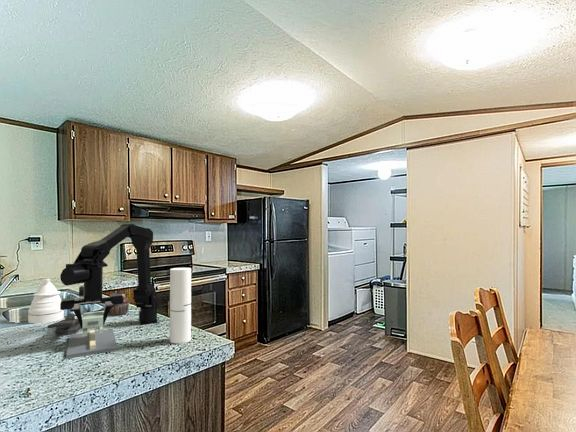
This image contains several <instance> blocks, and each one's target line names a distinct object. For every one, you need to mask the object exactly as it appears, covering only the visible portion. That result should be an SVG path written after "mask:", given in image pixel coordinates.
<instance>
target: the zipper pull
mask: <svg viewBox="0 0 576 432" xmlns="http://www.w3.org/2000/svg"><path fill="white" fill-rule="evenodd" d="M75 316H76V315H75V313H68V314H67V315H66V316H65V318H64V319H61V320H59V321H55V322H54V323H51V324H48V325H47V326H46V328H47V329H55V334H54V335H55V336H56V337H57V336H58V337H60V336H61V337H62V336H63V337H65V336H70V335H73V334H78V333H79V331H81V329H82V328H81V326H80V324H79V321H78V318H76V317H75Z"/></svg>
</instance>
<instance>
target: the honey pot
mask: <svg viewBox="0 0 576 432" xmlns="http://www.w3.org/2000/svg"><path fill="white" fill-rule="evenodd" d="M61 293H62V292H61V291H60V290H58V289H57V288H56V286H55V285H54V284H53V283H52V282H51V278H43V283H41V285H40V286H39V287H38V288H37V290H36V292H34V293H33V295H32V296H33V299H32V300H31V304H30V307H29V308H28V309H27V310H28V311H27V312H28V315H27V319H28V321H27V323H28V324H31V323H41V324H48V323H47V322H49V323H53V321H55V322H58V321H57V320H59V321H61V320H64V319H65V318H64V317H65V310H60V303H61V301H62V298H61V296H60V294H61Z"/></svg>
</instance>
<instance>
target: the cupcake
mask: <svg viewBox="0 0 576 432" xmlns="http://www.w3.org/2000/svg"><path fill="white" fill-rule="evenodd" d="M111 294H116V292H112V293H111ZM117 294H122V295H123V304H115V307H112V308H111V310H110V311H109V313H108V316H110V317H111V316H112V317H119V316H120V315H121V316H125V315H127V314H128V312H129V308H130V301H129V298H127V296H126V294H124V293H122V291H119V292H117ZM121 316H120V317H121Z"/></svg>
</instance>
